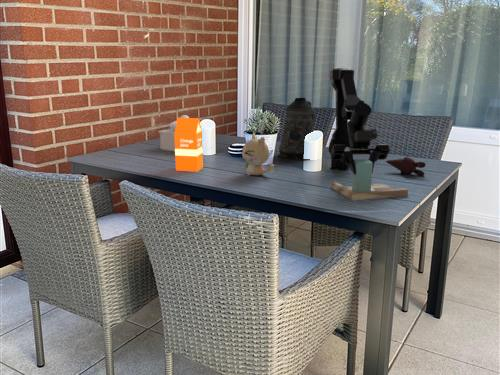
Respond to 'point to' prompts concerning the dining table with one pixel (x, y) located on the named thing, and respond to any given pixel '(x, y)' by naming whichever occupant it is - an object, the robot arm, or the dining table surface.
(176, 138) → the orange juice
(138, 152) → the dining table surface
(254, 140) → the kitten
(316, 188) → the dining table surface
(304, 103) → the dark translucent jar
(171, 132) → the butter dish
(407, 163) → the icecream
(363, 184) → the block
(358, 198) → the tan tray
